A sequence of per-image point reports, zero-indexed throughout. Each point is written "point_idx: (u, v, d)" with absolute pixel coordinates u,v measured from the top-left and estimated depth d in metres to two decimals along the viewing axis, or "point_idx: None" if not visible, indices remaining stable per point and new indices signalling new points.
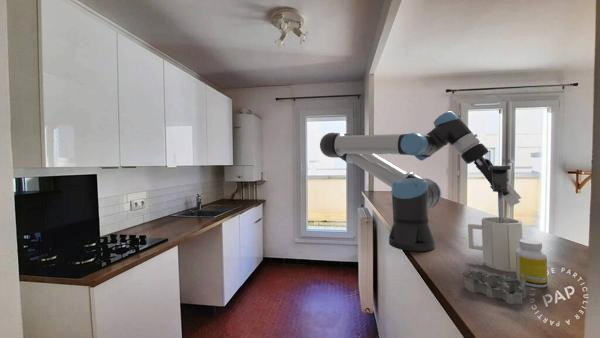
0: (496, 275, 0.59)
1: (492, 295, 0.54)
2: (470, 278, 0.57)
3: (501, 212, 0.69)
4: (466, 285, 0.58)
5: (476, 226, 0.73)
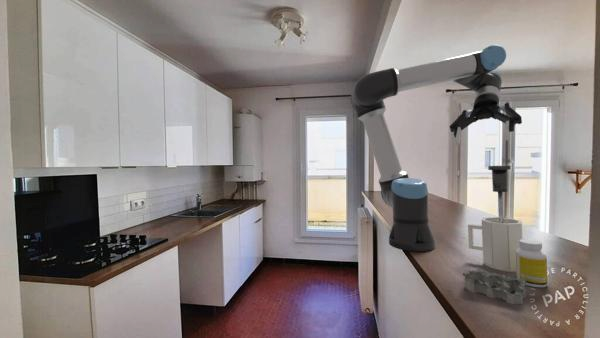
0: (496, 275, 0.59)
1: (492, 295, 0.54)
2: (470, 278, 0.57)
3: (501, 212, 0.69)
4: (466, 285, 0.58)
5: (476, 226, 0.73)
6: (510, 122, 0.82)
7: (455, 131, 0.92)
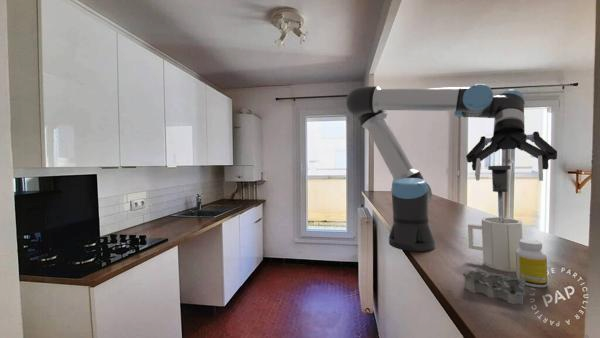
0: (495, 275, 0.59)
1: (493, 295, 0.54)
2: (470, 278, 0.57)
3: (501, 212, 0.69)
4: (466, 285, 0.58)
5: (476, 226, 0.73)
6: (543, 157, 0.67)
7: (473, 163, 0.77)
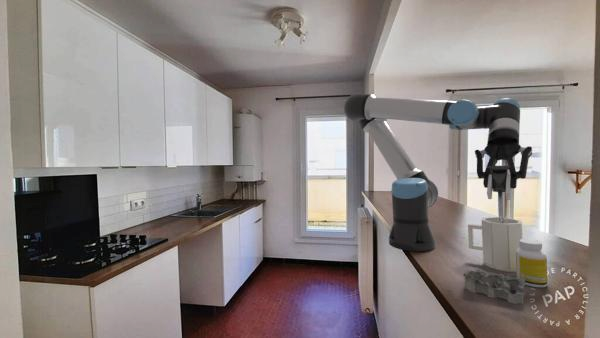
0: (495, 274, 0.59)
1: (494, 295, 0.54)
2: (471, 279, 0.57)
3: (501, 212, 0.69)
4: (467, 286, 0.58)
5: (476, 226, 0.73)
6: (512, 176, 0.67)
7: (485, 179, 0.71)
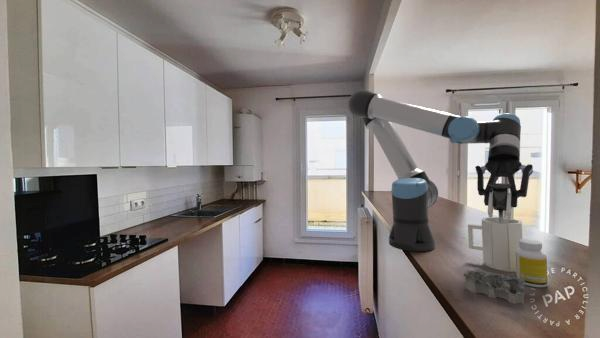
0: (494, 274, 0.59)
1: (494, 295, 0.54)
2: (471, 279, 0.57)
3: None
4: (467, 286, 0.58)
5: (476, 226, 0.73)
6: (512, 195, 0.67)
7: (486, 197, 0.71)
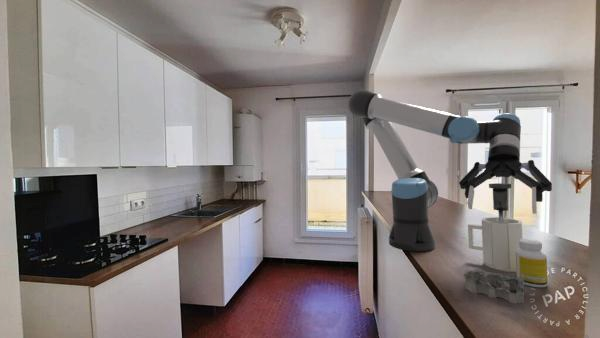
0: (494, 274, 0.59)
1: (494, 295, 0.54)
2: (471, 279, 0.57)
3: None
4: (467, 286, 0.58)
5: (476, 226, 0.73)
6: (537, 189, 0.65)
7: (466, 190, 0.75)
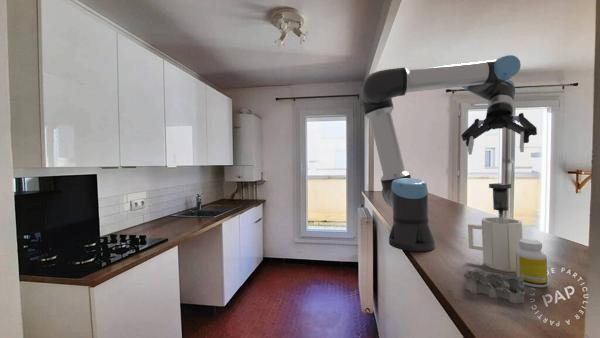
0: (493, 274, 0.59)
1: (495, 295, 0.54)
2: (472, 279, 0.57)
3: None
4: (467, 286, 0.58)
5: (476, 226, 0.73)
6: (525, 133, 0.80)
7: (467, 140, 0.91)
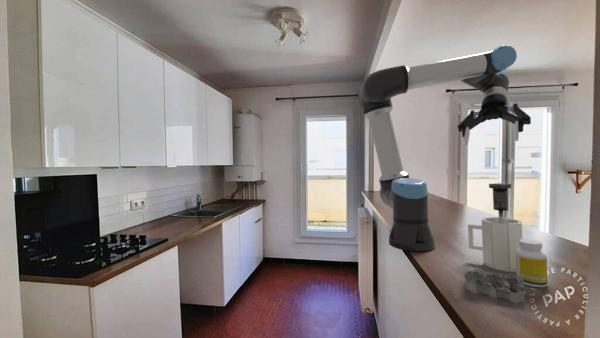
0: (493, 274, 0.59)
1: (496, 295, 0.54)
2: (472, 279, 0.57)
3: None
4: (468, 286, 0.58)
5: (476, 226, 0.73)
6: (519, 122, 0.82)
7: (463, 131, 0.92)
